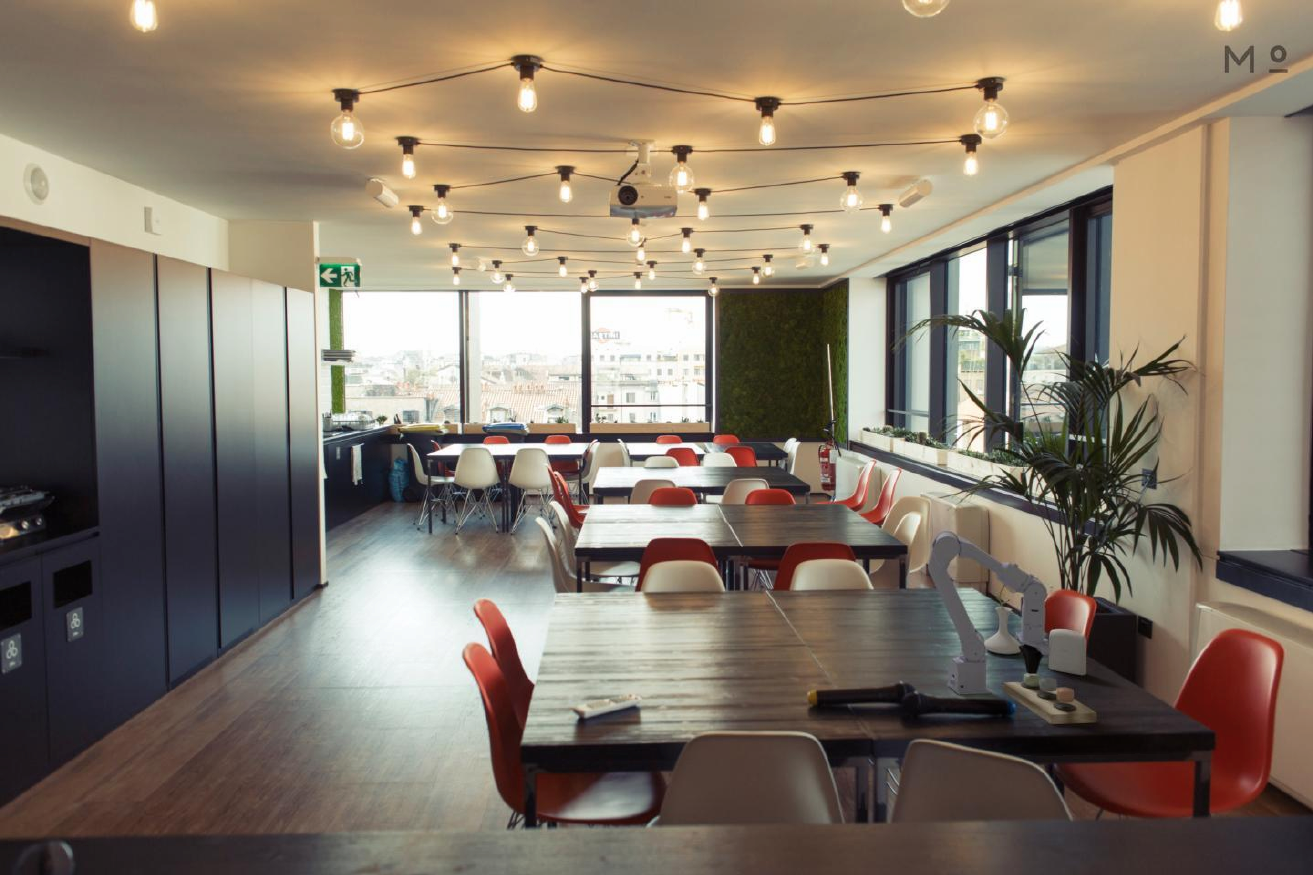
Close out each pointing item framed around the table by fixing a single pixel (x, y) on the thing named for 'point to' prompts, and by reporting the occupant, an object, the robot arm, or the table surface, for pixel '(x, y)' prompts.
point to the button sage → (1031, 680)
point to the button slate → (1047, 684)
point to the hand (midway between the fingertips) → (1031, 672)
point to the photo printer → (1067, 651)
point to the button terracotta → (1065, 694)
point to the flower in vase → (1003, 631)
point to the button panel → (1049, 704)
